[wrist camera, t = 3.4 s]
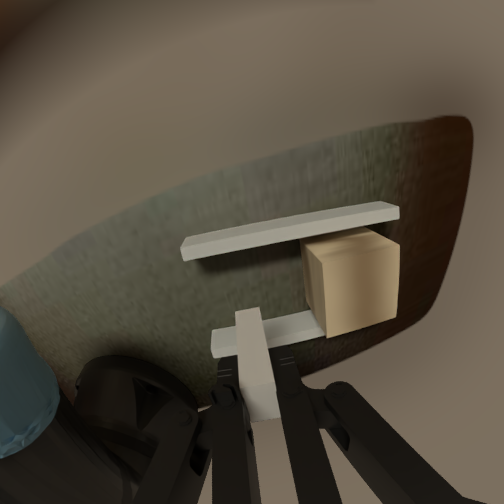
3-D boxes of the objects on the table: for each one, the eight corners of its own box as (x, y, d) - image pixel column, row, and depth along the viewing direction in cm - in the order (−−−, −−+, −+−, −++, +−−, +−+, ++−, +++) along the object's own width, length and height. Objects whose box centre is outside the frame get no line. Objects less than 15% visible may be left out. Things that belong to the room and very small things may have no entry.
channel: (214, 338, 25) (213, 358, 22) (186, 237, 22) (180, 247, 19) (381, 299, 25) (396, 313, 22) (380, 201, 22) (398, 206, 19)
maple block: (306, 300, 24) (327, 338, 19) (298, 238, 23) (322, 263, 17) (364, 286, 25) (395, 316, 19) (362, 225, 23) (399, 245, 17)
